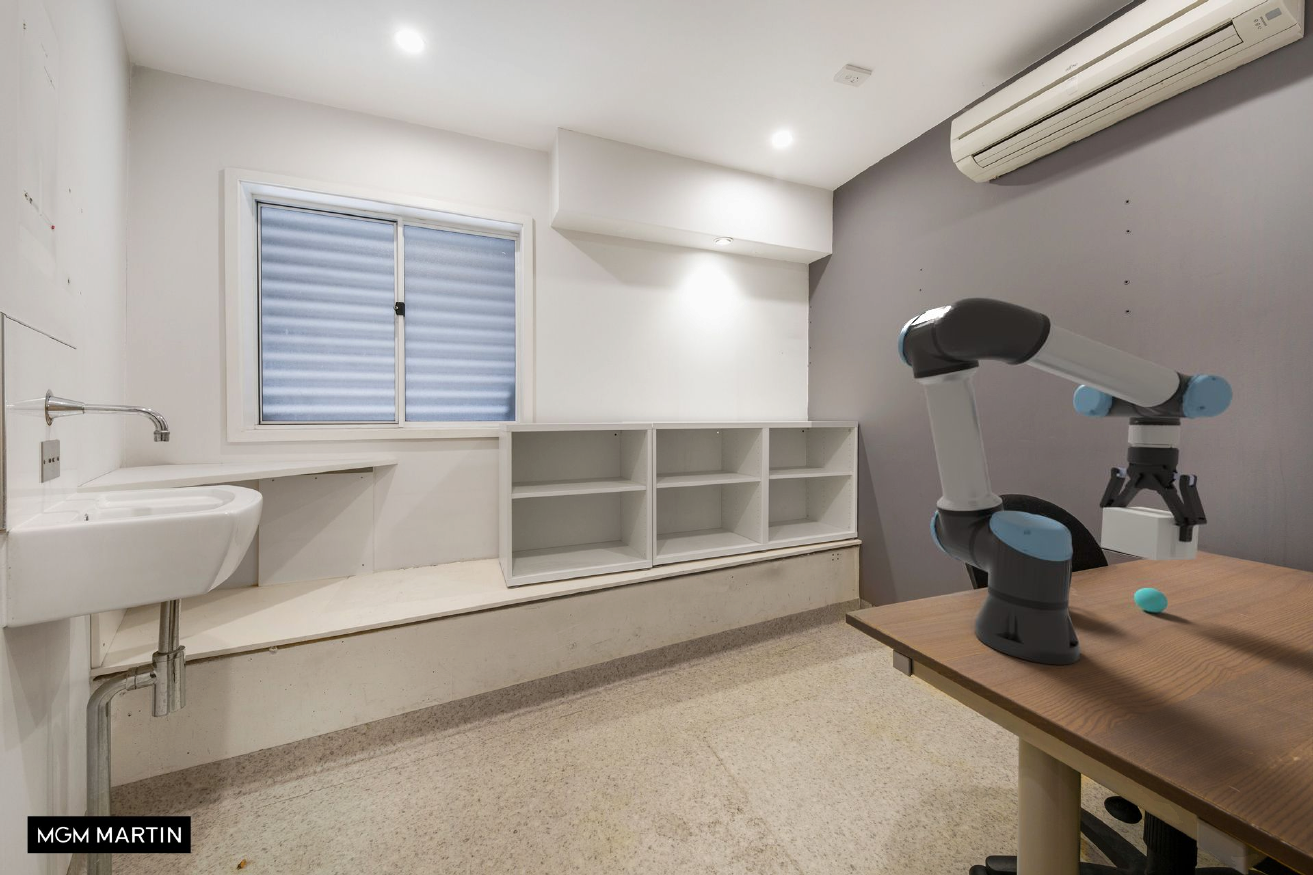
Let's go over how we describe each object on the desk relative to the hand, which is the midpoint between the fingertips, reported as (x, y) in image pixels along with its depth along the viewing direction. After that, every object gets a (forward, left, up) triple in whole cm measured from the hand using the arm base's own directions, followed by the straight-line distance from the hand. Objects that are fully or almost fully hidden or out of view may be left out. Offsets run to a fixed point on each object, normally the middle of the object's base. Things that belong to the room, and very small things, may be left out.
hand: (1146, 549), depth 101 cm
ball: (+2, +1, -11) cm, 11 cm away
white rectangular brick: (0, 0, -1) cm, 1 cm away
